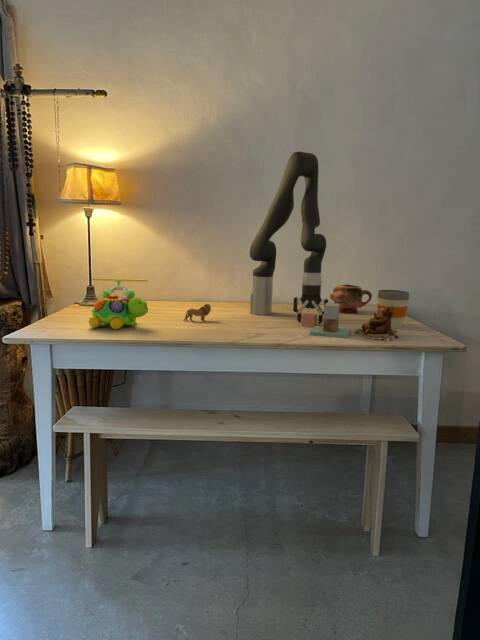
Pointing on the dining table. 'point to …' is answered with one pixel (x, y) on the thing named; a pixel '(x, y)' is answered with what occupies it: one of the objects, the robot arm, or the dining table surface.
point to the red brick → (309, 320)
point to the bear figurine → (379, 326)
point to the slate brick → (331, 310)
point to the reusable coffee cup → (394, 305)
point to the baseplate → (340, 332)
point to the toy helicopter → (119, 288)
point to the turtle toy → (117, 311)
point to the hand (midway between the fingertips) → (309, 323)
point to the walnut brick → (330, 325)
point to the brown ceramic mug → (349, 298)
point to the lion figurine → (198, 312)
